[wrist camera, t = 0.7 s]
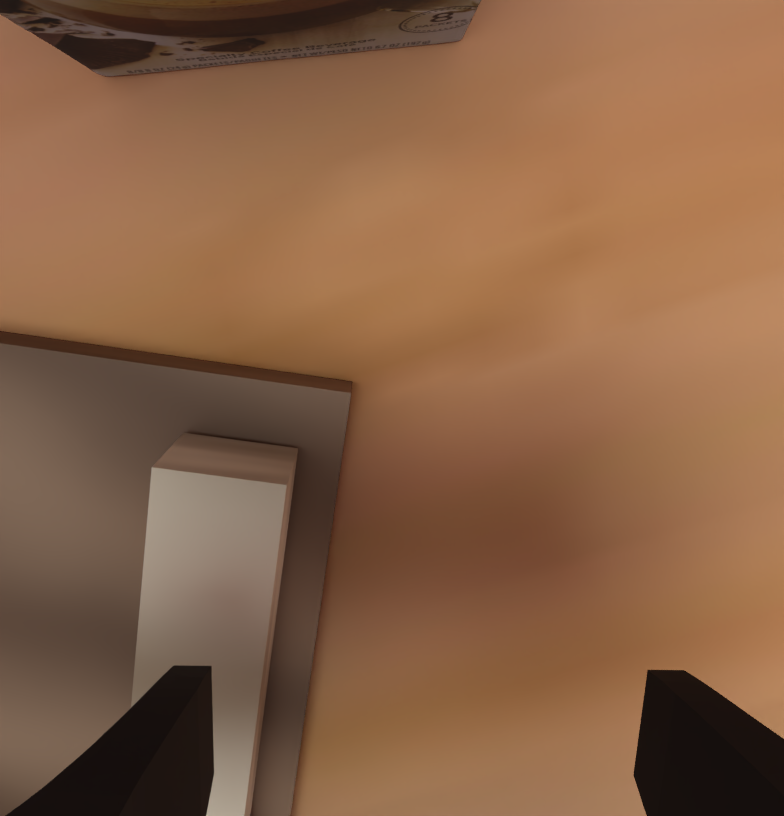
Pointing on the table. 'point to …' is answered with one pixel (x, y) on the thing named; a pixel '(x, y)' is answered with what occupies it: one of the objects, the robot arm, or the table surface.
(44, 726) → the stool seat panel
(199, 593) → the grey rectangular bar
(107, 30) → the coffee box
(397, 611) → the table surface
